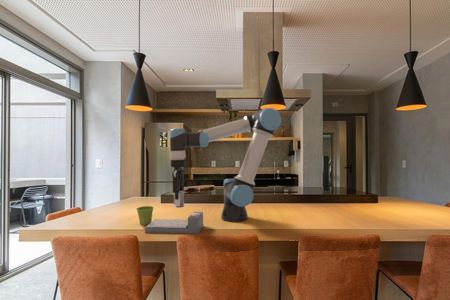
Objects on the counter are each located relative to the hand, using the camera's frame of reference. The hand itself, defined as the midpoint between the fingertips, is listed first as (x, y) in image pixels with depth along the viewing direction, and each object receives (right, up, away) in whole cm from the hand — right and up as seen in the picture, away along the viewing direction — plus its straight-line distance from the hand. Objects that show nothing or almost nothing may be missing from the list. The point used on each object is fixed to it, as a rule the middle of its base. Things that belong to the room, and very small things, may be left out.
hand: (178, 204), depth 159 cm
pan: (-5, -10, +1) cm, 11 cm away
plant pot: (-20, -13, +13) cm, 27 cm away
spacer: (0, -1, 0) cm, 1 cm away
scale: (-2, -13, +1) cm, 13 cm away
